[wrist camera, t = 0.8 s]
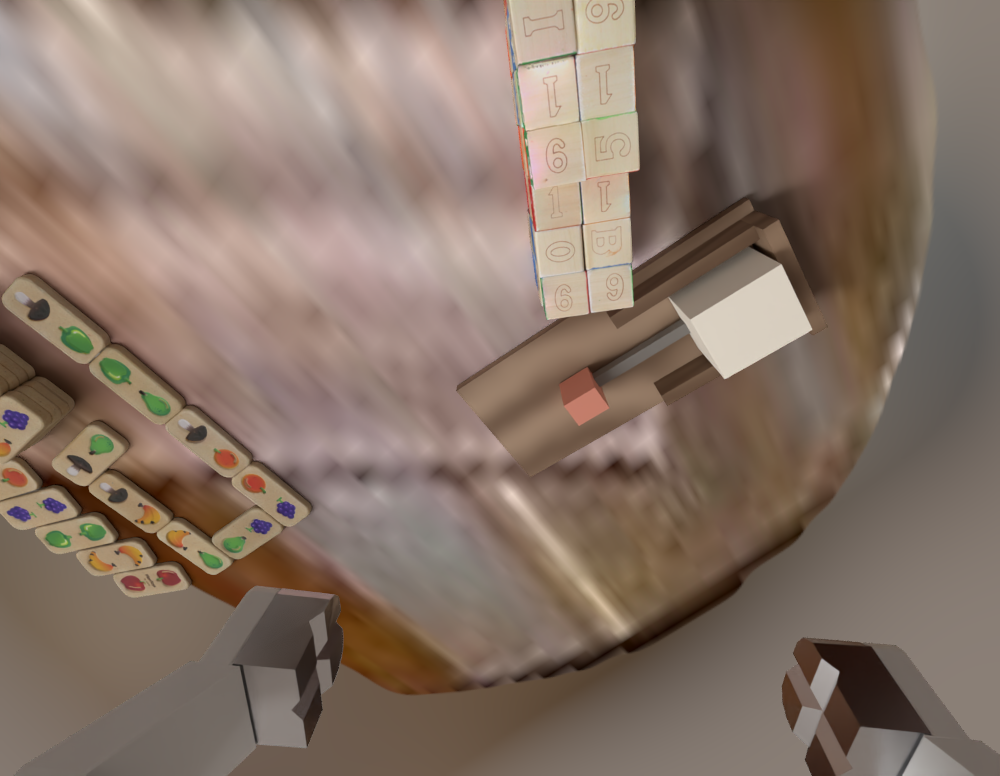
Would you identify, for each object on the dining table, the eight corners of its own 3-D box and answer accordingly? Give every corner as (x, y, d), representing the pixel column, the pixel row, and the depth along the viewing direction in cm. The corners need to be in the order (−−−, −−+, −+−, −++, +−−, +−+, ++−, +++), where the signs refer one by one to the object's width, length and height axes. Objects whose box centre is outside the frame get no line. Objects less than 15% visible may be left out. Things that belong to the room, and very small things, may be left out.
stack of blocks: (609, 273, 45) (645, 325, 34) (535, 283, 45) (547, 338, 34) (592, -46, 35) (636, -118, 24) (497, -28, 35) (498, -92, 24)
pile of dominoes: (-143, 418, 51) (-211, 450, 46) (4, 242, 43) (-58, 259, 39) (163, 613, 64) (135, 654, 59) (318, 503, 56) (301, 541, 51)
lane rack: (457, 385, 49) (453, 413, 45) (743, 197, 42) (773, 207, 37) (529, 471, 54) (532, 503, 49) (800, 315, 46) (832, 336, 42)
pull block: (548, 369, 47) (554, 402, 42) (745, 245, 42) (781, 264, 37) (583, 416, 49) (593, 453, 44) (774, 303, 44) (812, 329, 39)
